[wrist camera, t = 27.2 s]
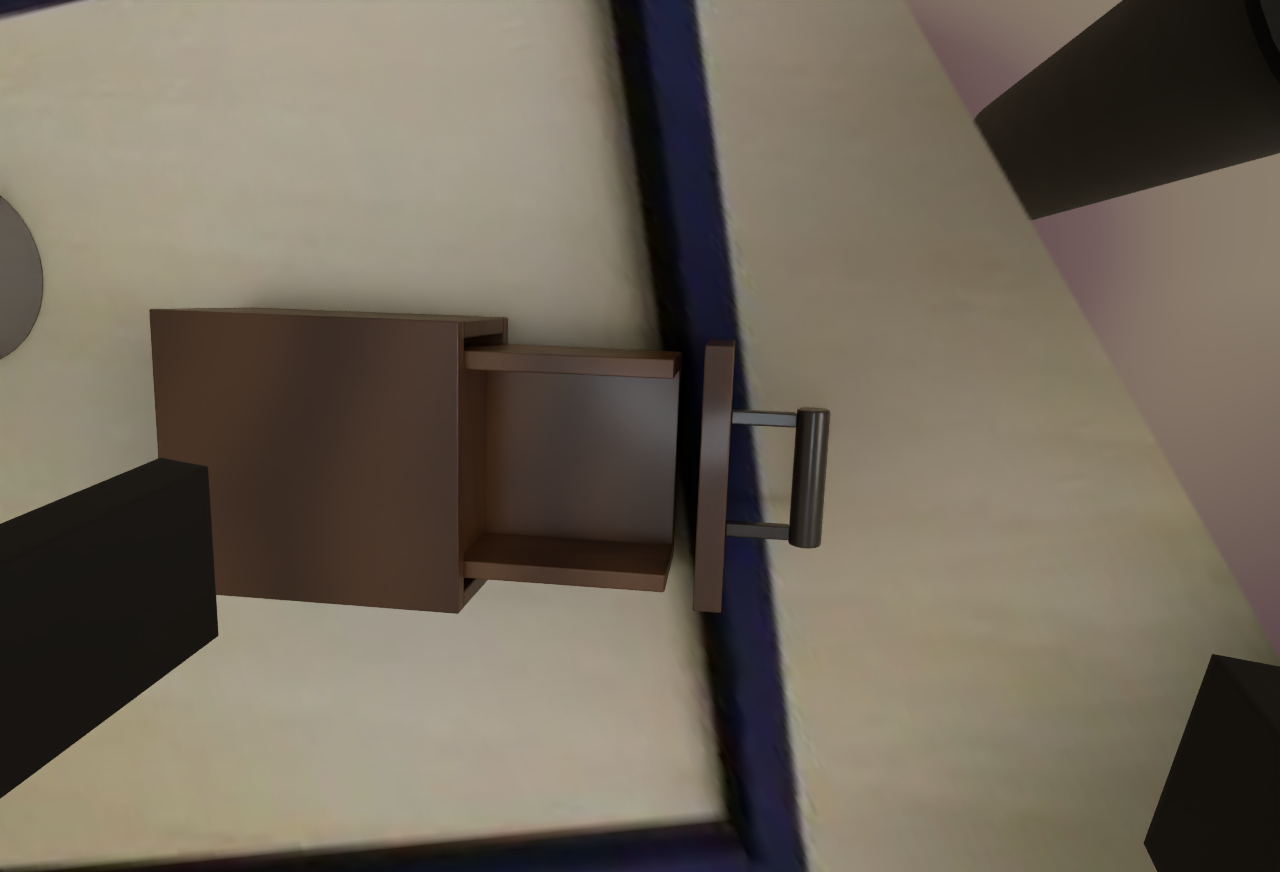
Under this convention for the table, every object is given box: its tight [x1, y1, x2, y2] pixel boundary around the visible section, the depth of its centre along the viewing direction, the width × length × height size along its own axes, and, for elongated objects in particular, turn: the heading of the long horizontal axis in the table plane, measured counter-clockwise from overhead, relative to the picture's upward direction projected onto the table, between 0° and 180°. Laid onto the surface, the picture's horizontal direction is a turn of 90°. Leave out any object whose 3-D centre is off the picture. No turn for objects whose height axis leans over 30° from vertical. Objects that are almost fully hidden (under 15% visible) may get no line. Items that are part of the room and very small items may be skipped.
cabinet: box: [150, 308, 508, 613], centre depth 39 cm, size 14×12×8 cm
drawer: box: [463, 339, 830, 612], centre depth 38 cm, size 17×11×6 cm
